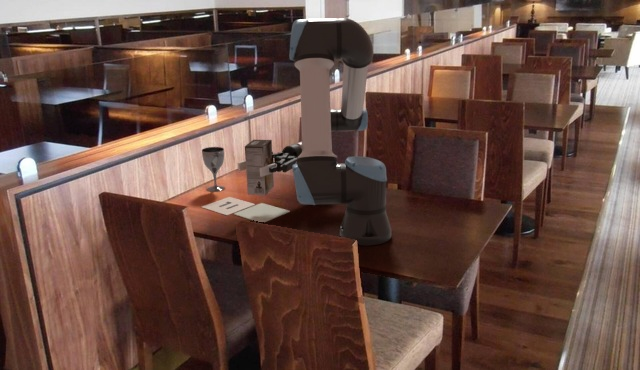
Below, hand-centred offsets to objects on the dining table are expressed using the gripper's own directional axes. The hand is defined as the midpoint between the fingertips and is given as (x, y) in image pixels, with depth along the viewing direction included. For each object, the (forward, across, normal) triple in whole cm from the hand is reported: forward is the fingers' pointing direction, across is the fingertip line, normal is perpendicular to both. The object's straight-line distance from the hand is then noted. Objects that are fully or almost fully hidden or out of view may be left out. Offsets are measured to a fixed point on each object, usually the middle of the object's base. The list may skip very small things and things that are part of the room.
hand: (249, 169), depth 187 cm
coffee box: (-4, 0, -8) cm, 10 cm away
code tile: (-2, +14, -16) cm, 21 cm away
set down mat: (-4, 0, -16) cm, 17 cm away
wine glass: (-12, +32, -16) cm, 38 cm away
